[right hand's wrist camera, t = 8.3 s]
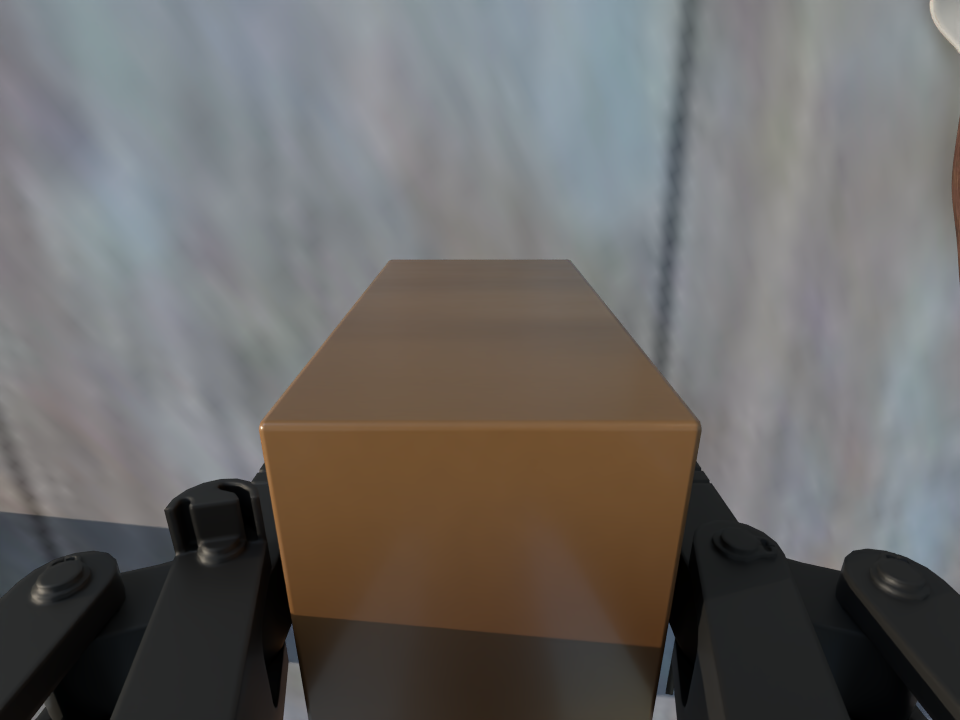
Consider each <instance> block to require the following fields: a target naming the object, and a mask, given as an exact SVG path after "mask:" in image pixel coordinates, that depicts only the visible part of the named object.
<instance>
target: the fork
mask: <svg viewBox="0 0 960 720" xmlns="http://www.w3.org/2000/svg"><path fill="white" fill-rule="evenodd" d="M930 11H931V16H932V18H933V21H934V23H935V25H936V26H937V28H938V29H939V31H940V32H941V33H942V34H943V35H944V36H945V38H946V39H947V40H948V41H949V42H950V43H951V44H952V45H953V46H954V47H955V48H956V50H957V51H958V52H959V53H960V0H930ZM952 200H953V210H954V219H955V228H956V237H957V248H958V264H959V280H960V119H959V125H958V132H957V139H956V146H955V154H954V161H953V171H952Z"/></svg>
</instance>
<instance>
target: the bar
mask: <svg viewBox="0 0 960 720" xmlns="http://www.w3.org/2000/svg"><path fill="white" fill-rule="evenodd" d="M701 430H702V427H701V424H700V421H699V420H698V419H697V417H696V416H695V415H694V414H693V412H692V411H691V410H690V409H689V407H688V406H687V405H686V404H685V402H684V401H683V400H682V399H681V397H680V396H679V395H678V394H677V392H676V391H675V390H674V389H673V387H672V386H671V385H670V384H669V383H668V381H667V380H666V379H665V378H664V376H663V375H662V374H661V373H660V371H659V370H658V369H657V368H656V366H655V365H654V364H653V363H652V361H651V360H650V359H649V358H648V356H647V355H646V354H645V353H644V351H643V350H642V349H641V348H640V346H639V345H638V344H637V343H636V341H635V340H634V339H633V338H632V336H631V335H630V334H629V333H628V332H627V330H626V329H625V328H624V327H623V325H622V324H621V323H620V322H619V320H618V319H617V318H616V317H615V315H614V314H613V313H612V312H611V310H610V309H609V308H608V307H607V305H606V304H605V303H604V302H603V300H602V299H601V298H600V297H599V295H598V294H597V293H596V292H595V290H594V289H593V288H592V287H591V285H590V284H589V283H588V282H587V280H586V279H585V278H584V277H583V276H582V274H581V273H580V272H579V271H578V269H577V268H576V267H575V266H574V264H573V263H572V262H571V261H570V260H390V261H389V262H388V263H387V264H386V266H385V267H384V268H383V269H382V271H381V272H380V273H379V274H378V276H377V277H376V278H375V279H374V281H373V282H372V283H371V284H370V286H369V287H368V288H367V289H366V291H365V292H364V293H363V294H362V296H361V297H360V298H359V299H358V301H357V302H356V303H355V304H354V306H353V307H352V308H351V309H350V311H349V312H348V313H347V314H346V316H345V317H344V318H343V319H342V321H341V322H340V323H339V325H338V326H337V327H336V328H335V330H334V331H333V332H332V333H331V335H330V336H329V337H328V338H327V340H326V341H325V342H324V343H323V345H322V346H321V347H320V348H319V350H318V351H317V352H316V353H315V355H314V356H313V357H312V358H311V360H310V361H309V362H308V363H307V365H306V366H305V367H304V368H303V370H302V371H301V372H300V373H299V375H298V376H297V377H296V378H295V380H294V381H293V382H292V383H291V385H290V386H289V387H288V388H287V390H286V391H285V392H284V393H283V395H282V396H281V397H280V398H279V400H278V401H277V402H276V403H275V405H274V406H273V407H272V408H271V410H270V411H269V412H268V413H267V415H266V416H265V417H264V418H263V420H262V421H261V423H260V426H259V432H260V438H261V444H262V450H263V455H264V461H265V467H266V473H267V479H268V485H269V491H270V496H271V502H272V508H273V514H274V520H275V526H276V532H277V537H278V543H279V549H280V555H281V561H282V567H283V572H284V578H285V584H286V590H287V596H288V602H289V608H290V613H291V619H292V625H293V631H294V637H295V643H296V648H297V654H298V660H299V666H300V672H301V678H302V684H303V689H304V695H305V701H306V707H307V713H308V719H309V720H652V717H653V712H654V706H655V700H656V694H657V688H658V682H659V676H660V671H661V665H662V659H663V653H664V647H665V641H666V635H667V629H668V624H669V618H670V612H671V606H672V600H673V594H674V588H675V583H676V577H677V571H678V565H679V559H680V553H681V547H682V542H683V536H684V530H685V524H686V518H687V512H688V506H689V501H690V495H691V489H692V483H693V477H694V471H695V465H696V460H697V454H698V448H699V442H700V436H701Z"/></svg>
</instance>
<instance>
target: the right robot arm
mask: <svg viewBox="0 0 960 720" xmlns="http://www.w3.org/2000/svg"><path fill="white" fill-rule="evenodd" d="M164 511H165V515H166V519H167V523H168V527H169V530H170V534H171V538H172V542H173V546H174V550H175V553H176V555H175V558H174V560H173V561H170V562H167V563H163V564H160V565H155V566H151V567H146V568H142V569H137V570H132V571H128V572H123V573H120V571H119V567H118V564H117V561H116V559H115V558H113V557H112V556H111V555H110V554H109V553H104V552H98V551H88V552H80V553H74V554H71V555H67V556H65V557H61V558H58V559H55V560H53V561H51V562H49V563H47V564H45V565H43V566H41V567H39V568H37V569H35V570H34V571H32V572H31V573H30V574H28V575H27V576H26V577H24V578H23V579H22V580H20V581H19V582H18V583H17V584H15V585H14V586H13V587H12V588H11V589H10V590H9V591H8V592H7V593H6V594H5V595H4V596H3V597H2V598H1V599H0V720H31V719H32V717H33V716H34V715H35V714H36V712H37V711H38V710H39V709H40V707H41V706H42V705H43V703H44V704H45V706H46V707H45V708H44V709H43V711H42V712H41V713H40V715H39V716H38V717H37V718H36V719H35V720H283V715H284V704H285V694H286V683H287V673H288V662H289V661H288V654H287V648H286V642H285V639H286V637H287V634H288V632H289V629H290V627H291V624H292V619H291V613H290V608H289V602H288V596H287V590H286V584H285V578H284V572H283V567H282V561H281V555H280V549H279V543H278V537H277V532H276V526H275V520H274V514H273V508H272V502H271V496H270V491H269V485H268V479H267V473H266V467H265V463H264V464H263V466H262V467H261V469H260V472H259V473H257V474H256V476H255V477H254V479H253V480H252V482H249V481H245V480H241V479H219V480H215V481H210V482H206V483H202V484H200V485H197V486H195V487H193V488H190V489H188V490H186V491H184V492H183V493H181V494H180V495H178V496H177V497H175V498H174V499H173V500H172V501H171V502H170V503H169V505H168V506H167V507H166V508H165V510H164ZM669 623H670V626H671V628H672V631H673V633H674V636H675V642H674V648H673V653H672V659H671V665H670V670H669V676H668V681H667V688H666V694H670V695H673V690H674V692H675V703H676V713H677V720H928V719H927V718H926V717H925V716H924V715H923V714H922V712H921V711H920V710H919V708H918V707H917V706H916V702H917V700H918V702H919V703H920V704H921V705H922V707H923V708H924V709H925V710H926V712H927V713H928V714H929V716H930V717H931V718H932V719H933V720H960V595H959V594H958V593H957V592H956V591H955V590H954V589H953V588H952V587H951V586H950V585H948V584H947V583H946V582H945V581H944V580H943V579H941V578H940V577H939V576H937V575H936V574H935V573H933V572H932V571H931V570H929V569H928V568H927V567H925V566H923V565H921V564H919V563H917V562H915V561H913V560H911V559H909V558H907V557H904V556H901V555H899V554H898V555H897V554H895V553H891V552H888V551H883V550H875V549H862V550H855V551H852V552H851V553H850V554H849V555H847V556H846V557H845V559H844V563H843V566H842V569H841V571H838V570H834V569H829V568H824V567H820V566H815V565H811V564H806V563H801V562H798V561H794V560H791V559H787V558H786V557H785V554H784V553H783V551H782V550H781V548H780V547H779V545H778V544H777V543H776V542H775V541H774V540H773V539H771V538H770V537H769V536H767V535H766V534H765V533H764V532H762V531H760V530H757V529H755V528H753V527H751V526H749V525H747V524H743V523H739V522H738V521H737V520H736V518H735V517H734V515H733V514H732V512H731V511H730V509H729V508H728V506H727V505H726V504H725V502H724V501H723V499H722V498H721V496H720V495H719V493H718V492H717V491H716V489H715V488H714V486H713V485H712V483H710V482H709V479H708V477H707V476H706V475H705V473H704V472H703V471H701V467H700V466H699V464H698V463H697V461H696V465H695V471H694V477H693V483H692V489H691V495H690V501H689V506H688V512H687V518H686V524H685V530H684V536H683V542H682V547H681V553H680V559H679V565H678V571H677V577H676V583H675V588H674V594H673V600H672V606H671V612H670V618H669Z"/></svg>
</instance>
